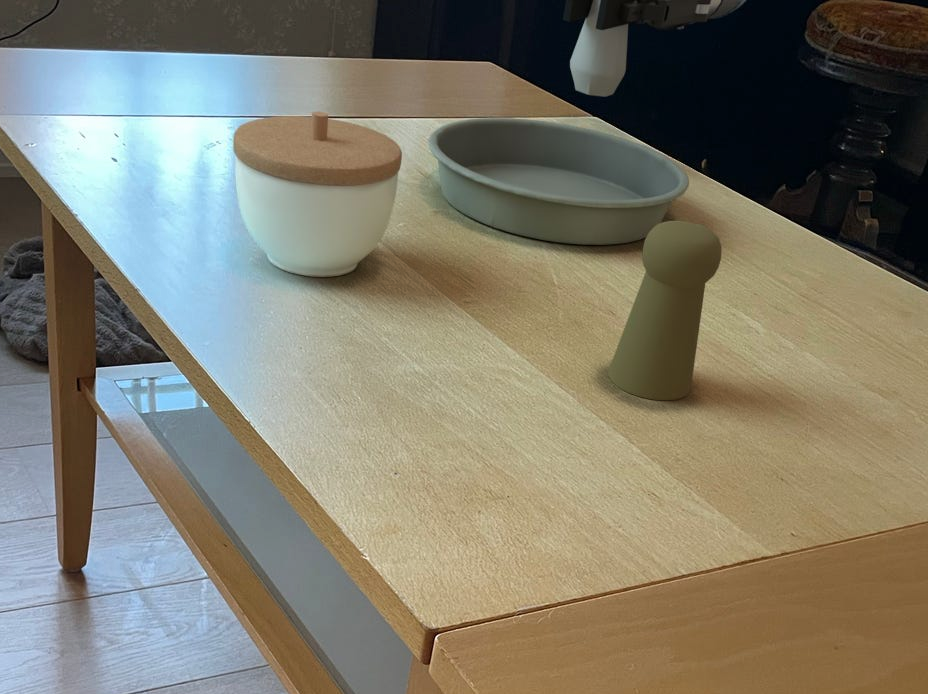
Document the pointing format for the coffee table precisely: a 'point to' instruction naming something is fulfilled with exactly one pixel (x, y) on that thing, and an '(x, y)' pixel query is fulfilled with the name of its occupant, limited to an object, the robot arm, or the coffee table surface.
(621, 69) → the salt shaker
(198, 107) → the coffee table surface
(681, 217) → the coffee table surface
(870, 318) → the coffee table surface
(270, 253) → the lidded bowl
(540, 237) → the cake pan
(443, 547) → the coffee table surface
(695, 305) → the olive pawn figure
